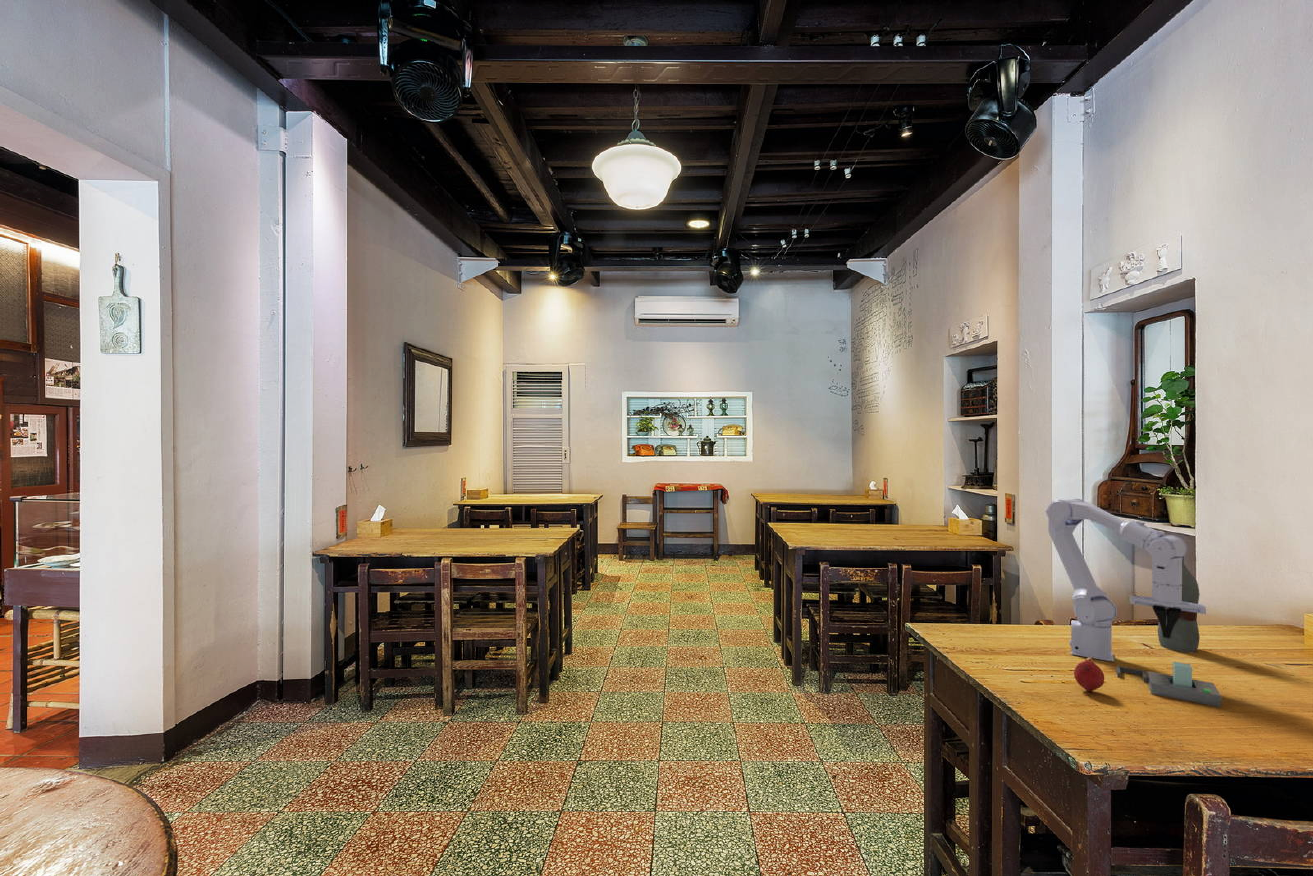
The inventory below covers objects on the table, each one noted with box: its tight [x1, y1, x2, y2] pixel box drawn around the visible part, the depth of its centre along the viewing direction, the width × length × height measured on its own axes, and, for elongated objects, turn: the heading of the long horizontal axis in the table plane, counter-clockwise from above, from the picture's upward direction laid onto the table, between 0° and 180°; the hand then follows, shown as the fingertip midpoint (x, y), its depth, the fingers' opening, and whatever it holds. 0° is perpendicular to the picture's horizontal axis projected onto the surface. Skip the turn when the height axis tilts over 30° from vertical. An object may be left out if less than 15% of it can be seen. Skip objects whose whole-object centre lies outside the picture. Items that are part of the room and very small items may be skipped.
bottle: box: [1157, 555, 1201, 653], centre depth 171 cm, size 9×9×30 cm
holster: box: [1116, 665, 1148, 684], centre depth 149 cm, size 6×6×1 cm
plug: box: [1172, 661, 1193, 687], centre depth 138 cm, size 3×3×7 cm
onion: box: [1073, 657, 1105, 693], centre depth 139 cm, size 6×6×8 cm
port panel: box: [1146, 671, 1222, 708], centre depth 138 cm, size 12×9×3 cm
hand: (1166, 637), depth 148 cm, fingers closed
